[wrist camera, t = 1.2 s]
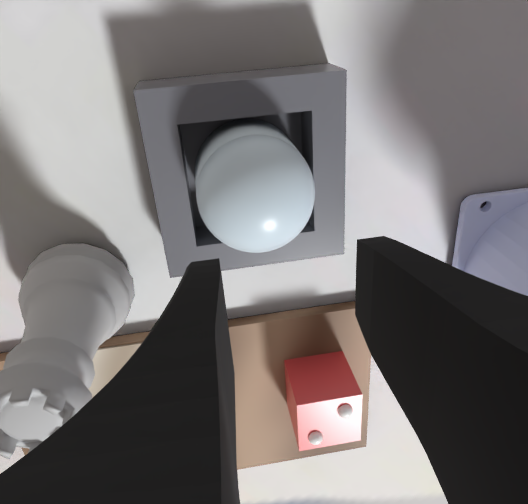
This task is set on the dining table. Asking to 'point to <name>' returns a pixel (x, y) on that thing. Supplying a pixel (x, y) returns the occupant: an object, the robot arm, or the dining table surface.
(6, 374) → the rook chess piece
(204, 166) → the dome button
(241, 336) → the game board
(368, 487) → the dining table surface
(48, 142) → the dining table surface
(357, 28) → the dining table surface
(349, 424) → the red die
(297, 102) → the dome housing
